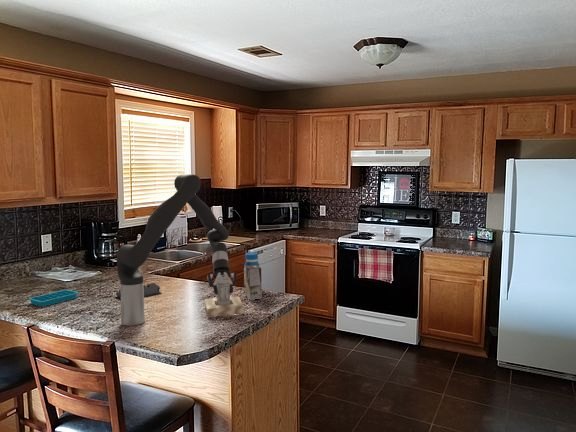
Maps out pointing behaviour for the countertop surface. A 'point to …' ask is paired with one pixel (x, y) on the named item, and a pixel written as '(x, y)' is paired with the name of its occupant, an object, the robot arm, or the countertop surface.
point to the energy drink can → (223, 290)
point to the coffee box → (253, 282)
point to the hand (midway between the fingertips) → (223, 293)
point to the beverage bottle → (250, 261)
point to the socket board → (223, 307)
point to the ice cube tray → (53, 297)
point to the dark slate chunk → (147, 290)
